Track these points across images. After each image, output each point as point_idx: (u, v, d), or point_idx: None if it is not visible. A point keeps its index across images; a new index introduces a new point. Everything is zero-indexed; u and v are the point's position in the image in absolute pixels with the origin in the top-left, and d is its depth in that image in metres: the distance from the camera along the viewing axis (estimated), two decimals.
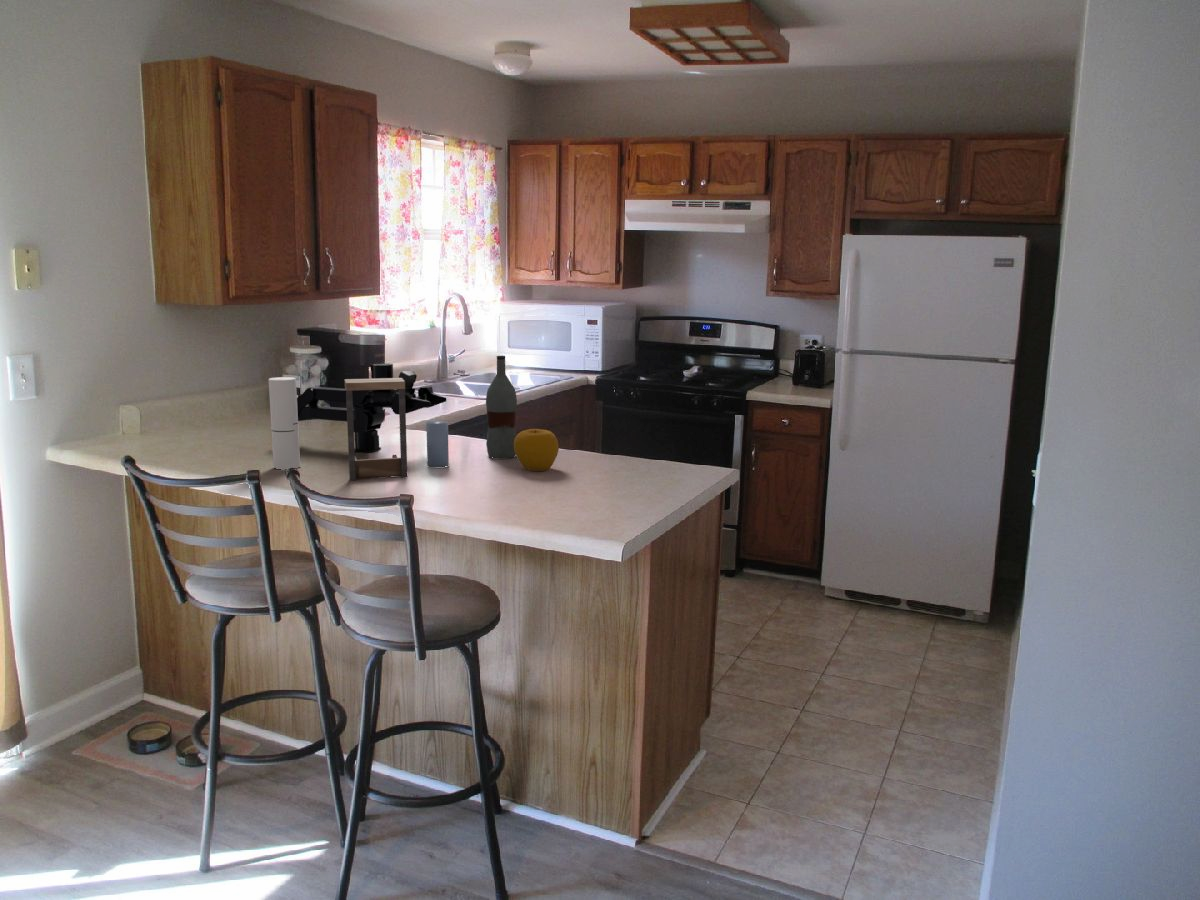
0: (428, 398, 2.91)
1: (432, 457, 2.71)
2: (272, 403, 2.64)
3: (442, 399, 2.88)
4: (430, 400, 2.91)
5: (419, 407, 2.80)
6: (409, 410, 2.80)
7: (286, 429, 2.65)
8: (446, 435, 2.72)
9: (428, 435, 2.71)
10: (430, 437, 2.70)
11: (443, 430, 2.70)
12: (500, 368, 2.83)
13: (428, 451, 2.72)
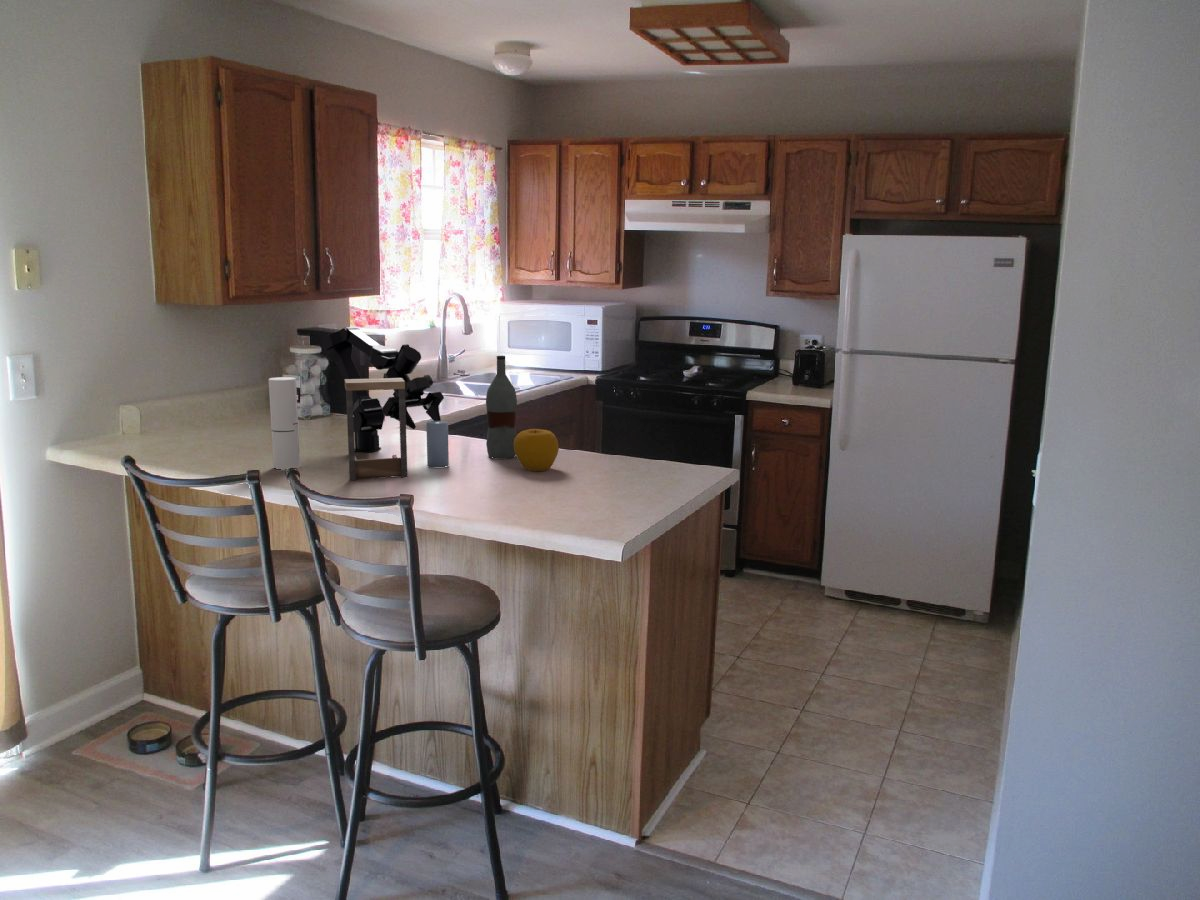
0: (430, 407, 2.81)
1: (432, 457, 2.71)
2: (272, 403, 2.64)
3: None
4: (430, 410, 2.81)
5: None
6: (396, 417, 2.73)
7: (286, 429, 2.65)
8: (446, 435, 2.72)
9: (428, 435, 2.71)
10: (430, 437, 2.70)
11: (443, 430, 2.70)
12: (500, 368, 2.83)
13: (428, 451, 2.72)
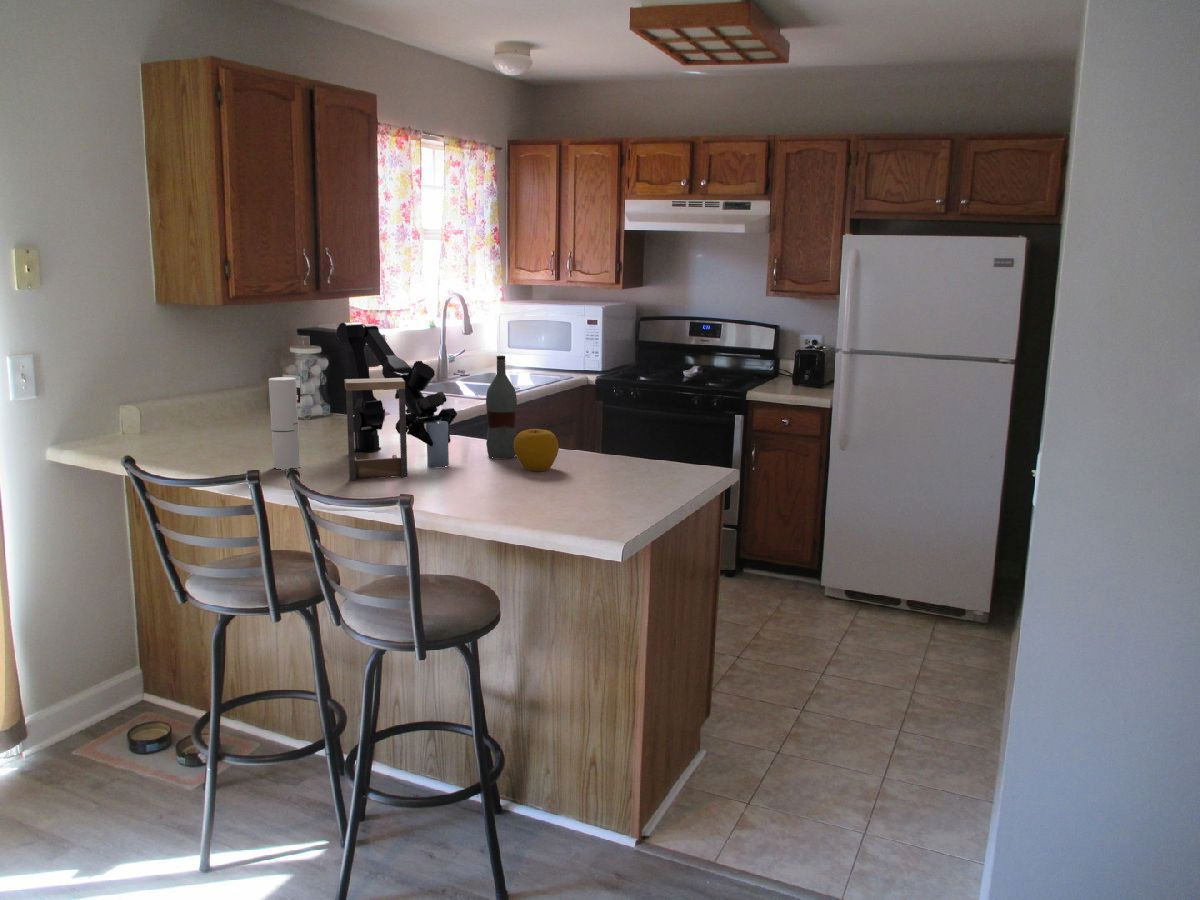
0: None
1: (432, 457, 2.71)
2: (272, 403, 2.64)
3: None
4: None
5: (422, 439, 2.71)
6: (413, 434, 2.72)
7: (286, 429, 2.65)
8: (446, 435, 2.72)
9: None
10: (430, 437, 2.70)
11: (443, 430, 2.70)
12: (500, 368, 2.83)
13: (428, 451, 2.72)
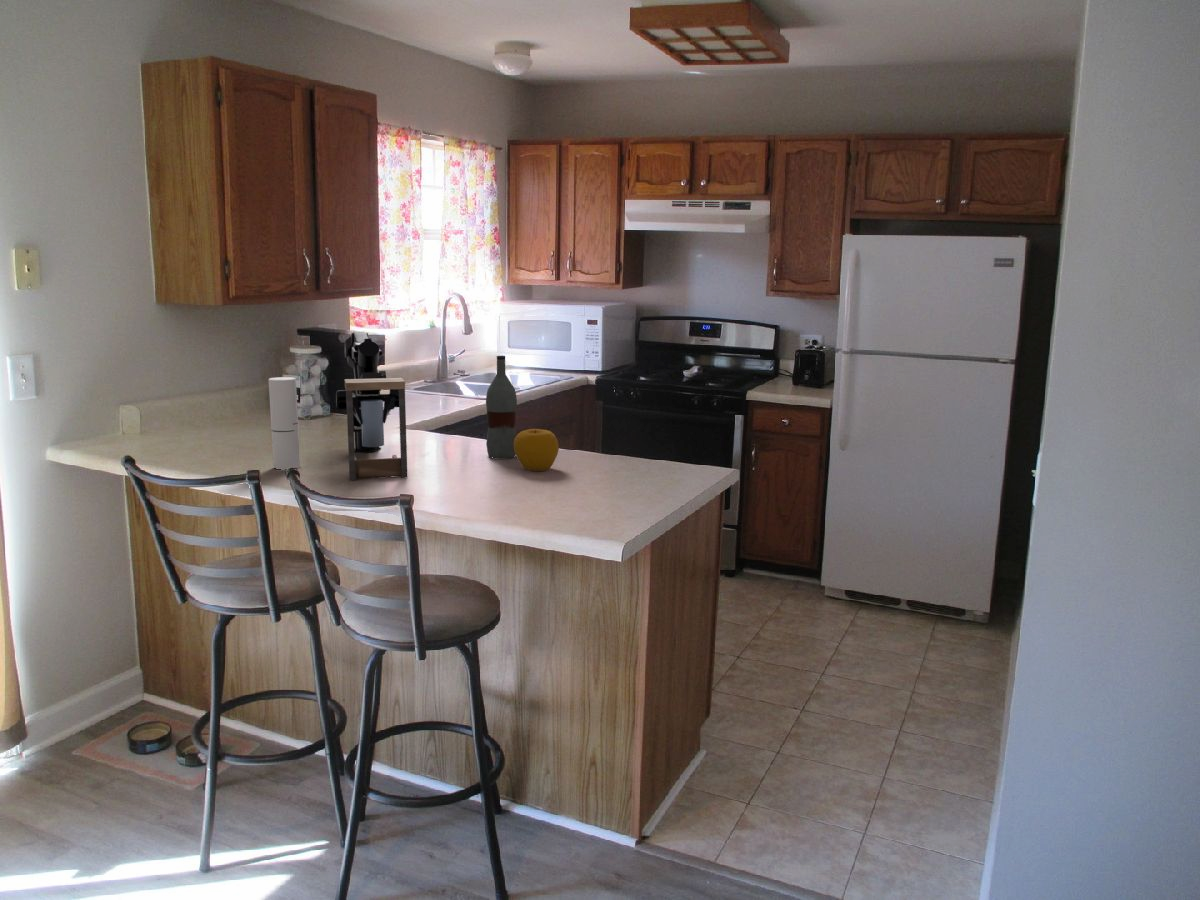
0: None
1: (362, 435, 2.70)
2: (272, 403, 2.64)
3: (383, 419, 2.71)
4: None
5: (356, 417, 2.71)
6: None
7: (286, 429, 2.65)
8: (376, 414, 2.68)
9: (361, 413, 2.70)
10: (361, 415, 2.69)
11: (371, 409, 2.67)
12: (500, 368, 2.83)
13: None
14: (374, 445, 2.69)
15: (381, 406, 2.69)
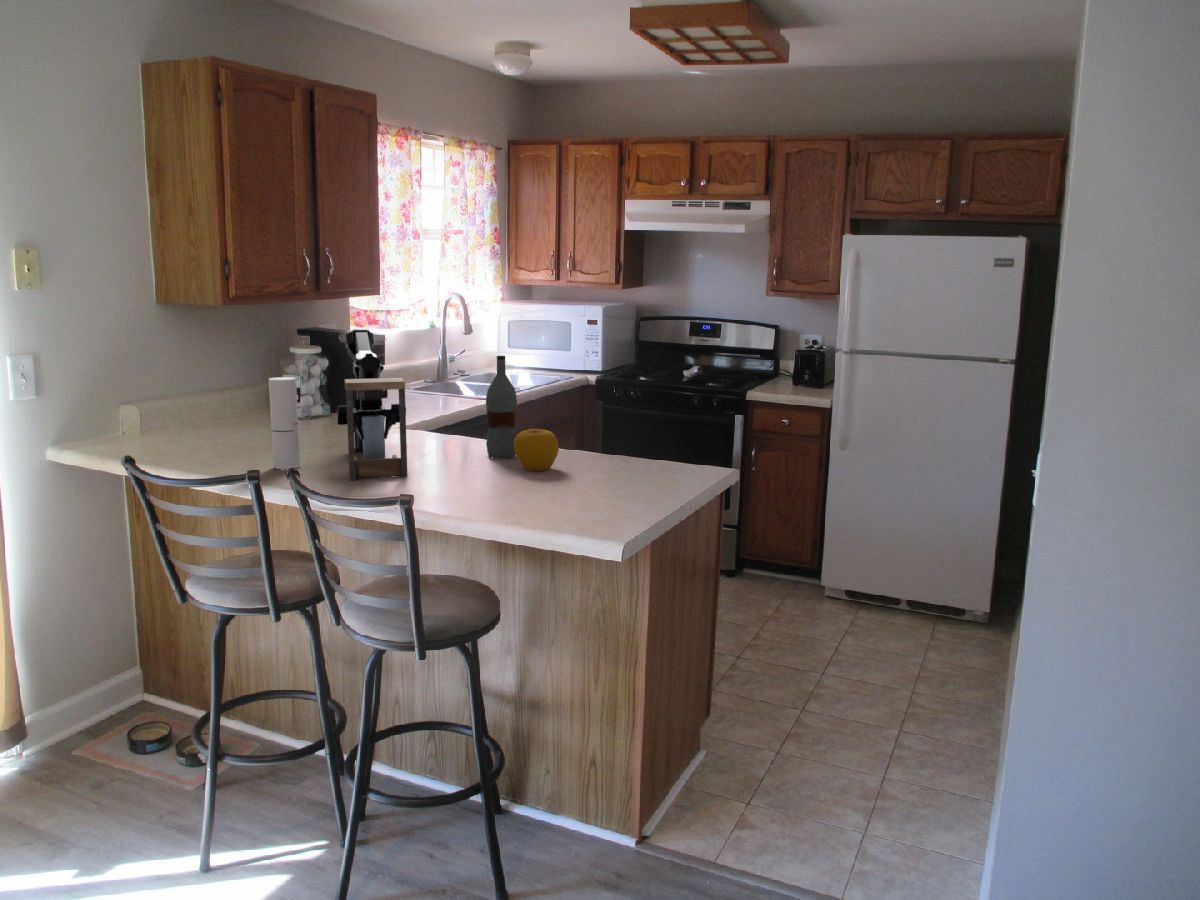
0: None
1: (363, 451, 2.67)
2: (272, 403, 2.64)
3: None
4: None
5: (357, 432, 2.68)
6: None
7: (286, 429, 2.65)
8: (377, 430, 2.66)
9: (362, 429, 2.67)
10: (362, 430, 2.66)
11: (373, 424, 2.65)
12: (500, 368, 2.83)
13: None
14: None
15: (382, 422, 2.67)
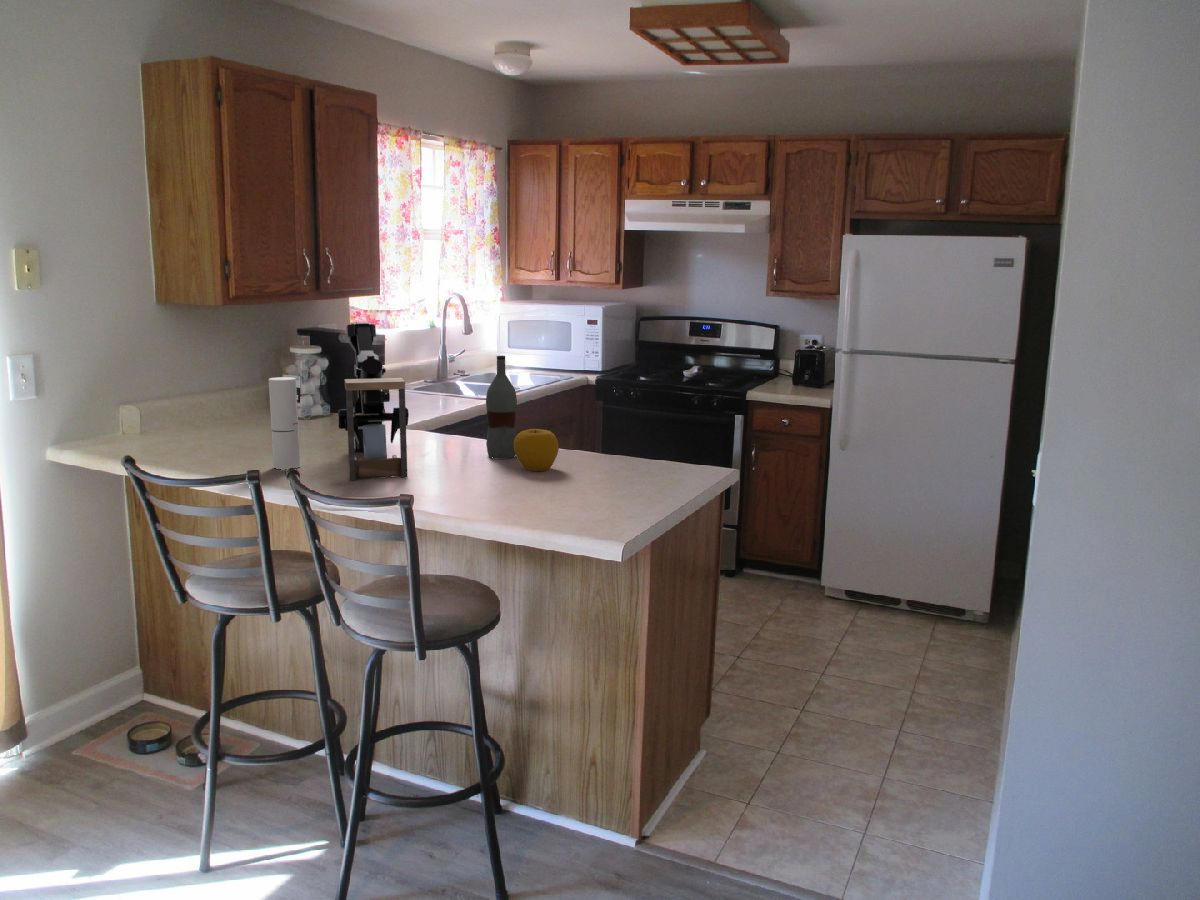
0: (391, 423, 2.66)
1: None
2: (272, 403, 2.64)
3: (390, 439, 2.63)
4: None
5: (355, 437, 2.62)
6: None
7: (286, 429, 2.65)
8: (378, 440, 2.60)
9: (363, 438, 2.62)
10: (363, 440, 2.61)
11: (374, 434, 2.59)
12: (500, 368, 2.83)
13: None
14: None
15: (384, 431, 2.61)
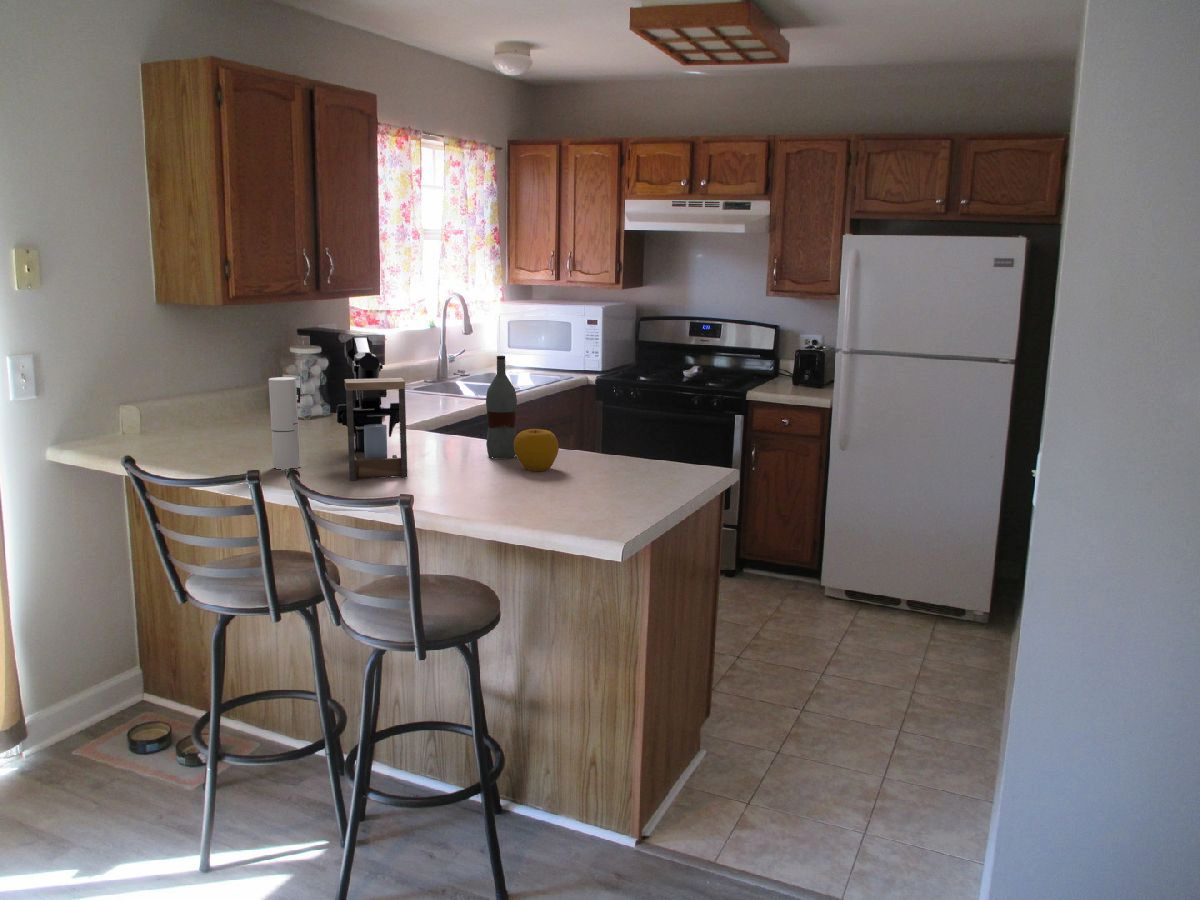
0: None
1: None
2: (272, 403, 2.64)
3: None
4: (389, 421, 2.75)
5: None
6: None
7: (286, 429, 2.65)
8: (379, 440, 2.60)
9: (364, 438, 2.62)
10: (364, 440, 2.61)
11: (375, 434, 2.59)
12: (500, 368, 2.83)
13: None
14: None
15: (385, 431, 2.61)
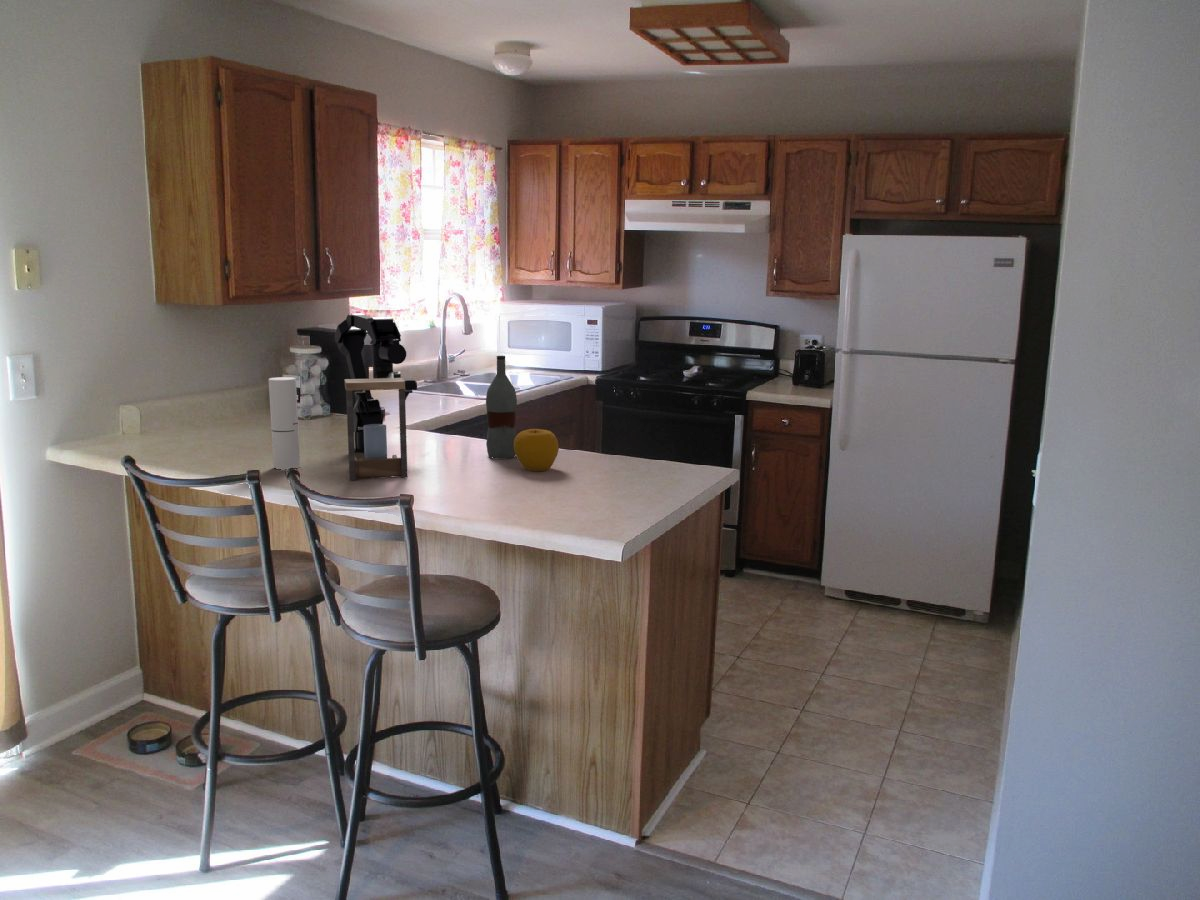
0: None
1: None
2: (272, 403, 2.64)
3: None
4: None
5: None
6: None
7: (286, 429, 2.65)
8: (379, 440, 2.60)
9: None
10: (364, 440, 2.61)
11: (375, 434, 2.59)
12: (500, 368, 2.83)
13: None
14: None
15: (385, 431, 2.61)
